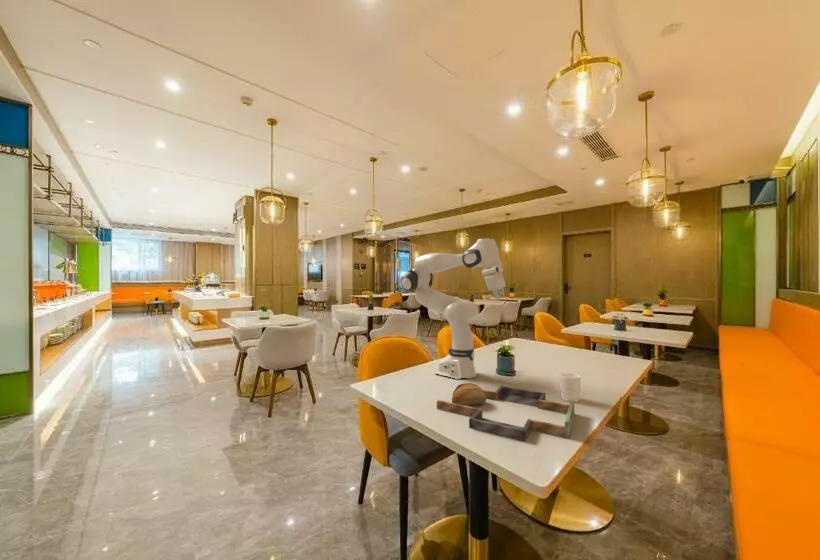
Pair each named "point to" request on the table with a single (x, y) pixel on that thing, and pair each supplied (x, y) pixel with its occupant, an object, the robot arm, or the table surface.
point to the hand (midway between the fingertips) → (500, 298)
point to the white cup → (570, 386)
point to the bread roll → (468, 394)
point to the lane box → (521, 398)
